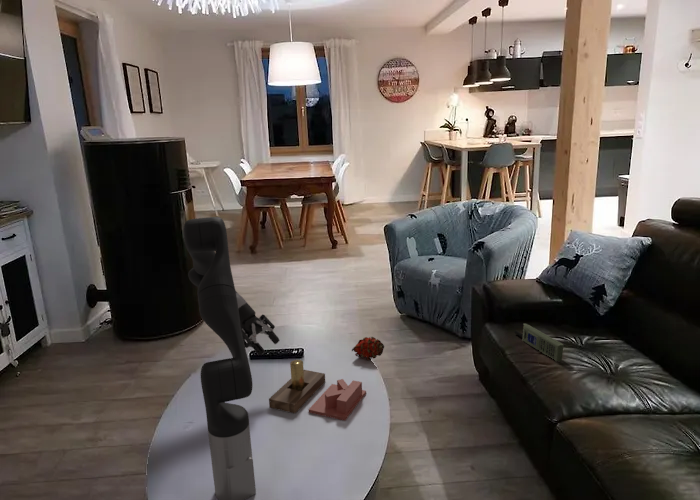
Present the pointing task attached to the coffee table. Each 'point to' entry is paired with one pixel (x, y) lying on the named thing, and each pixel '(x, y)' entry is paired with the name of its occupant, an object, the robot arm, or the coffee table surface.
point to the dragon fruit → (369, 348)
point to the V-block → (339, 400)
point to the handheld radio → (542, 342)
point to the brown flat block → (296, 393)
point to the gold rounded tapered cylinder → (297, 375)
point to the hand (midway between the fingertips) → (270, 347)
